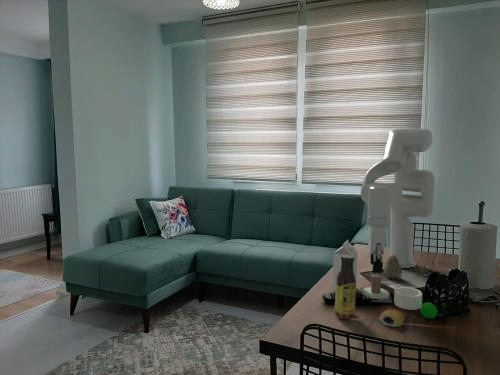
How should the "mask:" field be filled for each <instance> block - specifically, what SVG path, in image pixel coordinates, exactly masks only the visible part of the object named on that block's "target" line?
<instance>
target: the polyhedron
mask: <svg viewBox="0 0 500 375" xmlns="http://www.w3.org/2000/svg"><path fill="white" fill-rule="evenodd" d="M419 312H420V314H421V316H423V317H424V318H425V319H434V318H436V316H437V314H438V309H437V307H436V306H435V304H433V303H431V302H424V303H422V306H421V308H419Z"/></svg>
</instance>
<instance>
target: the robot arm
mask: <svg viewBox="0 0 500 375" xmlns="http://www.w3.org/2000/svg"><path fill="white" fill-rule="evenodd" d="M432 143H433V134H432V132H431V130H430V129H428V128H396V129H391V130H390V131H388V134H387V139H386V143H385V147H384V150H383V154H382V157H381V160H380V161H378V162H377V163H375V164H374V165H373V166H371V167H370V168H369V170H367V171H366V173H365V175H364V177H363V180H362V184H361V188H360V198H361V200H362V201H363V202H364V203H367V215H366V216H367V218H366V226H369V229H368V243H367V244H368V245H367V249H368V254H370V265H372V274H383V269H384V268H383V264H384V262H383V260H384V259H383V256H384V255H385V249H386V233H387V232H386V230H387V229H386V228H387V227H388V228H389V227H390V238H389V239H390V240H389V245H390V246H389V257H390V256H392V255H394V256H396V257H397V259H398V261H399V264H400V266H402V267H414V268H415V267H416V266H417V263H416V261H415V260H413V251H414V236H415V235H414V233H415V232H414V231H415V227H414V224H413V222H412V220H411V219H410V218H420V219H421V218H422V219H428V218H430V217H431V216H432V215H433V212H434V196H435V195H434V194H435V176H434V173H433V172H432V171H431V170H425V169H417V156H416V154H415V153H424V152H425V151H428V150H429V149H430V147H431V146H432V145H433V144H432ZM391 174H394V178H393V179H394V180H393V181H394V182H393V183H384V182H381V183H380V182H376V181H377V180H378V179H380V178H383V177H384V176H385V177H386V176H388V175H391ZM403 192H411V193H412V192H413V193H420V194H421V195H419V194H407V193H403ZM387 260H388V258H386V260H385V263H386V262H387Z"/></svg>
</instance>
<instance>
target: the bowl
mask: <svg viewBox="0 0 500 375" xmlns="http://www.w3.org/2000/svg"><path fill="white" fill-rule="evenodd" d="M393 302H394V306H396V307H398V308H401V309H404V310H409V311H416V310H418V309H419V310H420V308H421V306H422V304H423V293H422V291H421V290H419V289H417V288H414V287H411V286H410V287H408V286H407V287H406V286H399V287H396V288H394V296H393Z"/></svg>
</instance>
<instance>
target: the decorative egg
mask: <svg viewBox="0 0 500 375" xmlns="http://www.w3.org/2000/svg"><path fill="white" fill-rule="evenodd" d="M387 259H388V260H387V262H386V261H385V265H384V274H385V276H386V278H387V277H389V278H392V279H391V280H393V279H394V280H397V279H398V278H399V277H400V275H401V268H400V264H399V261H398V259H397V257H396V256H394V255H392V256H390V255H389V257H388V258H387ZM389 278H388V279H389ZM396 278H397V279H396Z"/></svg>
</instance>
